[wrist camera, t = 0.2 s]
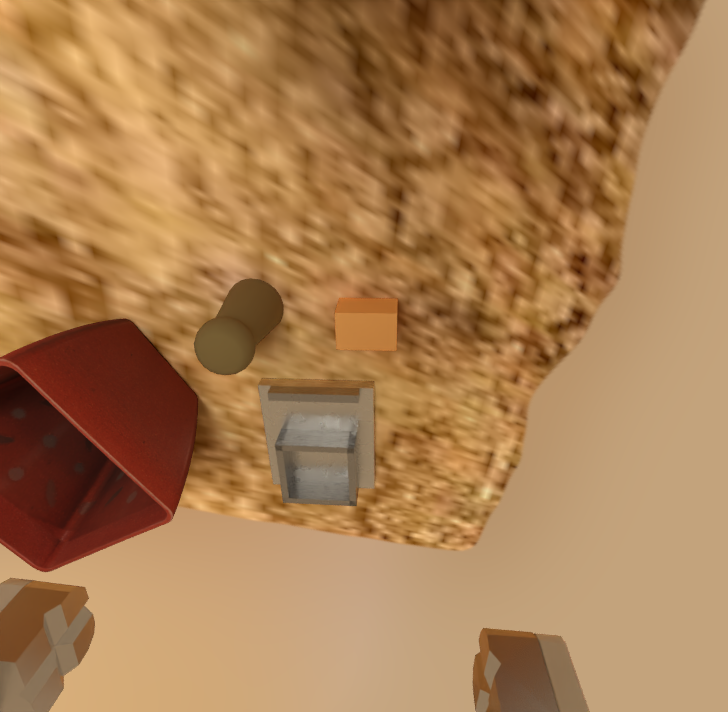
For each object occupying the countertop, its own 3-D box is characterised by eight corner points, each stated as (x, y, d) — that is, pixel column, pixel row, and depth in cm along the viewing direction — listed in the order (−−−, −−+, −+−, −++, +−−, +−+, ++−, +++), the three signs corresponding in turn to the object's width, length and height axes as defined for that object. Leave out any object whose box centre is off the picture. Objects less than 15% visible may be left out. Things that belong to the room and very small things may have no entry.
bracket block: (339, 297, 47) (334, 312, 44) (397, 297, 47) (397, 313, 43) (341, 332, 49) (336, 349, 46) (397, 333, 49) (396, 350, 45)
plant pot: (128, 463, 61) (40, 577, 46) (14, 353, 54) (-134, 446, 39) (238, 409, 55) (177, 520, 41) (126, 277, 48) (3, 353, 33)
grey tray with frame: (261, 378, 53) (250, 400, 49) (374, 381, 52) (371, 404, 48) (276, 475, 60) (267, 501, 56) (375, 479, 59) (372, 506, 55)
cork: (254, 266, 46) (215, 309, 37) (295, 310, 48) (267, 362, 39) (215, 300, 48) (168, 349, 39) (256, 341, 50) (220, 397, 41)
